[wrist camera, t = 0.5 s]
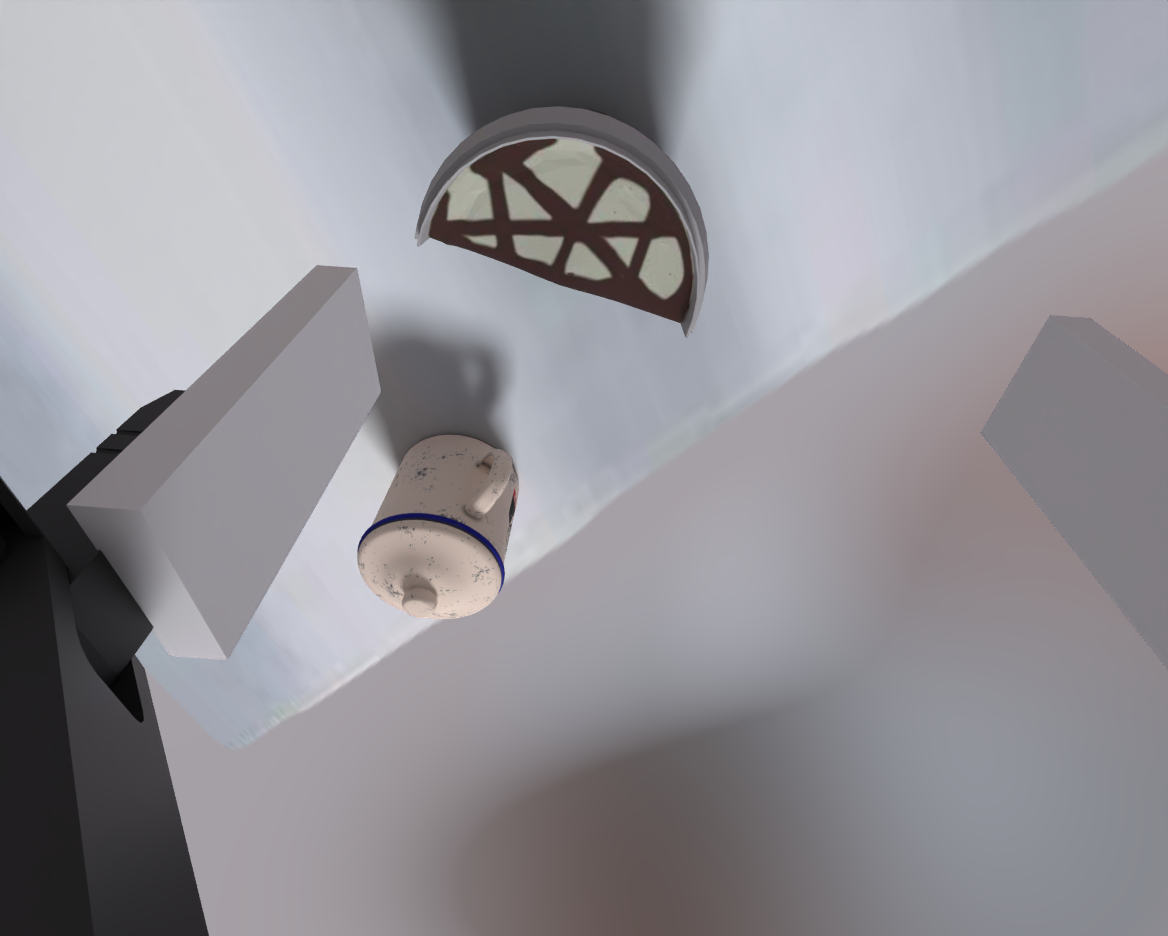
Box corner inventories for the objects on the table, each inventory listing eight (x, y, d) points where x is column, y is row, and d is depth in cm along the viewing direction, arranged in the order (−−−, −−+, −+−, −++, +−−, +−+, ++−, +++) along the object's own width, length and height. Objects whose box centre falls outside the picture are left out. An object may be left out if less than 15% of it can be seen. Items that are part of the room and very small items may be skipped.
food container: (735, 135, 29) (775, 192, 21) (682, 255, 32) (699, 342, 25) (485, 34, 27) (427, 55, 19) (459, 175, 30) (402, 241, 23)
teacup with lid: (480, 540, 48) (446, 671, 39) (377, 484, 44) (313, 612, 35) (572, 450, 41) (556, 581, 32) (459, 376, 38) (407, 499, 29)
